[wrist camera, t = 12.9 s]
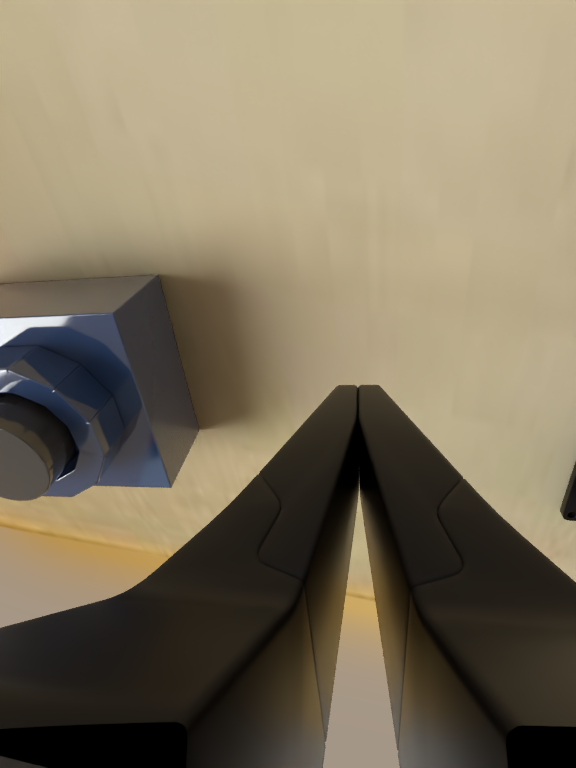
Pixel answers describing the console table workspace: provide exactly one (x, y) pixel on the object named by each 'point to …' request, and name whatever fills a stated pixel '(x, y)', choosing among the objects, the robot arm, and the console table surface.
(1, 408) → the cylinder
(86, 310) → the blue stepped block
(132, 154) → the console table surface
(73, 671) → the robot arm
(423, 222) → the console table surface
